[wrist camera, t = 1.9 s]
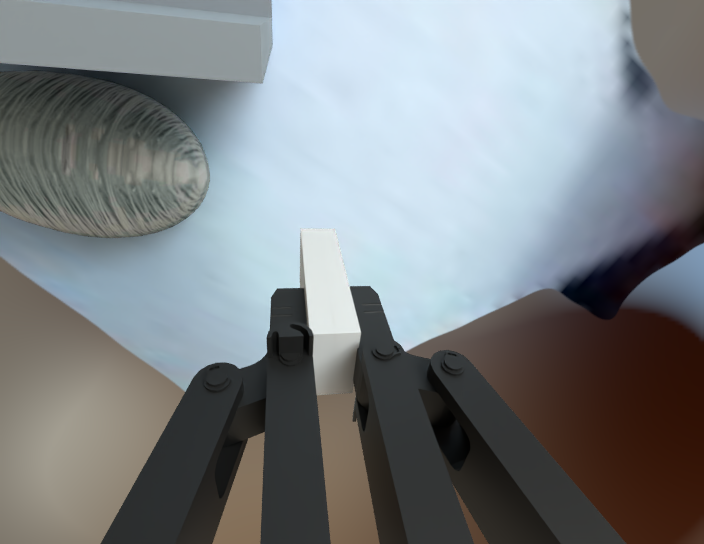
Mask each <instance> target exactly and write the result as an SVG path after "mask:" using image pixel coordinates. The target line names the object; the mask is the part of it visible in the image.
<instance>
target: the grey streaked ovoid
mask: <svg viewBox="0 0 704 544" xmlns="http://www.w3.org/2000/svg"><path fill="white" fill-rule="evenodd" d="M209 182H210V173H209V166H208V161H207V158H206V155H205V152H204V150H203V147H202V145H201V143H200V142H199V140H198V139H197V137H196V136H195V134H194V133H193V132H192V131H191V129H190V128H189V127H188V126H187V125H186V124H185V123H184V121H182V120H181V119H180V118H179V117H178V116H177V115H176V114H174V113H173V112H172V111H171V110H170V109H168V108H167V107H165V106H164V105H162V104H160V103H159V102H158V101H156V100H155V99H153V98H150V97H148V96H146V95H144V94H142V93H139V92H137V91H135V90H133V89H130V88H128V87H125V86H122V85H119V84H116V83H113V82H110V81H106V80H102V79H97V78H92V77H85V76H80V75H76V74H66V73H56V72H48V71H7V72H0V211H2V212H4V213H6V214H8V215H10V216H13V217H15V218H18V219H21V220H23V221H26V222H29V223H33V224H36V225H39V226H43V227H46V228H50V229H54V230H57V231H61V232H65V233H71V234H77V235H83V236H90V237H101V238H121V237H135V236H143V235H147V234H152V233H156V232H159V231H162V230H165V229H167V228H170V227H173V226H175V225H176V224H178V223H180V222H181V221H183V220H184V219H186V218H187V217H189V216H190V215H191V214H192V213H193V212H194V211H195V210H196V209H197V208H198V207H199V206H200V204H201V203H202V201H203V199H204V197H205V196H206V193H207V190H208V187H209Z"/></svg>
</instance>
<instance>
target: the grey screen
mask: <svg viewBox="0 0 704 544" xmlns="http://www.w3.org/2000/svg"><path fill="white" fill-rule="evenodd" d="M271 49H272V4H271V0H0V63H7V64H20V65H32V66H45V67H58V68H71V69H83V70H96V71H109V72H122V73H135V74H147V75H160V76H173V77H186V78H199V79H211V80H224V81H237V82H250V83H263V80H264V76H265V72H266V68H267V64H268V60H269V56H270V53H271Z"/></svg>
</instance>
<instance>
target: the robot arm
mask: <svg viewBox="0 0 704 544" xmlns="http://www.w3.org/2000/svg"><path fill="white" fill-rule="evenodd" d="M353 385H354V387H355V392H356V399H355V405H354V412H353V422H354V421H356V418H357V422H358V427H359V433H360V438H361V443H362V449H363V455H364V460H365V465H366V470H367V476H368V481H369V487H370V493H371V498H372V504H373V509H374V515H375V519H376V525H377V530H378V536H379V542H380V544H474V543H473V539H472V537H471V534H470V531H469V528H468V526H467V523H466V520H465V517H464V514H463V512H462V509H461V506H460V503H459V501H458V498H457V495H456V492H455V490H454V487H455V488H456V490H457V492H458V493H459V495H460V496H461V498H462V500H463V502H464V503H465V505H466V507H467V508H468V510H469V512H470V513H471V515H472V517H473V518H474V520H475V522H476V523H477V525H478V527H479V528H480V530H481V532H482V533H483V535H484V537H485V538H486V540H487V542H488V543H489V544H626V543H625V542H624V541H623V539H622V538H621V537H620V536H619V535H618V534H617V532H616V531H615V530H614V529H613V528H612V527H611V525H610V524H609V523H608V522H607V521H606V520H605V518H604V517H603V516H602V515H601V514H600V513H599V511H598V510H597V509H596V508H595V507H594V506H593V504H592V503H591V502H590V501H589V500H588V499H587V497H586V496H585V495H584V494H583V493H582V492H581V490H580V489H579V488H578V487H577V486H576V485H575V483H574V482H573V481H572V480H571V479H570V478H569V477H568V475H567V474H566V473H565V472H564V471H563V469H562V468H561V467H560V466H559V465H558V464H557V462H556V461H555V460H554V459H553V458H552V457H551V455H550V454H549V453H548V452H547V451H546V449H545V448H544V447H543V446H542V445H541V444H540V442H539V441H538V440H537V439H536V438H535V437H534V435H533V434H532V433H531V432H530V431H529V430H528V429H527V427H526V426H525V425H524V424H523V423H522V422H521V420H520V419H519V418H518V417H517V416H516V414H515V413H514V412H513V411H512V410H511V409H510V408H509V406H508V405H507V404H506V403H505V402H504V401H503V399H502V398H501V397H500V396H499V395H498V393H497V392H496V391H495V390H494V389H493V388H492V386H491V385H490V384H489V383H488V382H487V381H486V379H485V378H484V377H483V376H482V375H481V374H480V373H479V371H478V370H477V369H476V368H475V367H474V365H473V364H472V363H471V362H470V361H469V360H468V359H467V358H466V357H464V356H463V355H461V354H459V353H457V352H454V351H449V350H444V351H439V352H437V353H435V354H434V355H433V356H432V358H431V359H427V358H423V357H418V356H414V355H411V354H408V353H406V352H405V351H404V350H403V348H402V347H401V345H400V344H398V343H397V342H396V341H394V339H393V337H392V334H391V331H390V328H389V325H388V322H387V319H386V316H385V313H384V310H383V308H382V305H381V302H380V299H379V296H378V294H377V293H376V292H375V291H374V290H373V289H372V288H371V287H370V286H349V282H348V278H347V274H346V270H345V266H344V262H343V258H342V254H341V250H340V246H339V242H338V238H337V234H336V230H335V229H301V238H300V288H284V289H277V290H276V291H275V293H274V294H273V295H272V297H271V317H270V331H269V332H268V335H267V354H266V355H265V356H264V357H263V358H262V359H261V360H260V361H258V362H257V363H255V364H253V365H250V366H248V367H244V368H241V369H239V368H237V367H236V366H235V365H233V364H229V363H215V364H211V365H208V366H206V367H205V368H203V369H201V370H200V371H199V372H198V373H197V374H196V375H195V377H194V378H193V379H192V381H191V383H190V385H189V387H188V388H187V390H186V392H185V394H184V396H183V397H182V399H181V401H180V403H179V405H178V406H177V408H176V410H175V412H174V414H173V415H172V417H171V419H170V421H169V422H168V424H167V426H166V428H165V430H164V431H163V433H162V435H161V437H160V438H159V440H158V442H157V444H156V446H155V447H154V449H153V451H152V453H151V455H150V457H149V458H148V460H147V462H146V464H145V465H144V467H143V469H142V471H141V472H140V474H139V476H138V478H137V480H136V481H135V483H134V485H133V487H132V489H131V490H130V492H129V494H128V496H127V498H126V499H125V501H124V503H123V505H122V506H121V508H120V510H119V512H118V514H117V515H116V517H115V519H114V521H113V523H112V524H111V526H110V528H109V530H108V532H107V533H106V535H105V537H104V539H103V540H102V542H101V544H212V543H213V540H214V537H215V534H216V531H217V528H218V525H219V522H220V519H221V516H222V513H223V511H224V507H225V505H226V502H227V499H228V496H229V493H230V490H231V487H232V484H233V481H234V479H235V476H236V473H237V470H238V467H239V464H240V461H241V458H242V455H243V452H244V449H245V446H246V444H247V441H248V438H250V437H253V436H255V435H258V434H260V433H263V432H265V442H264V467H263V469H264V470H263V494H262V520H261V544H331V543H330V533H329V522H328V511H327V502H326V490H325V480H324V469H323V458H322V448H321V437H320V426H319V416H318V407H317V406H318V405H317V395H326V394H341V393H352V392H353ZM452 483H453V484H452ZM453 485H454V487H453Z"/></svg>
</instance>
